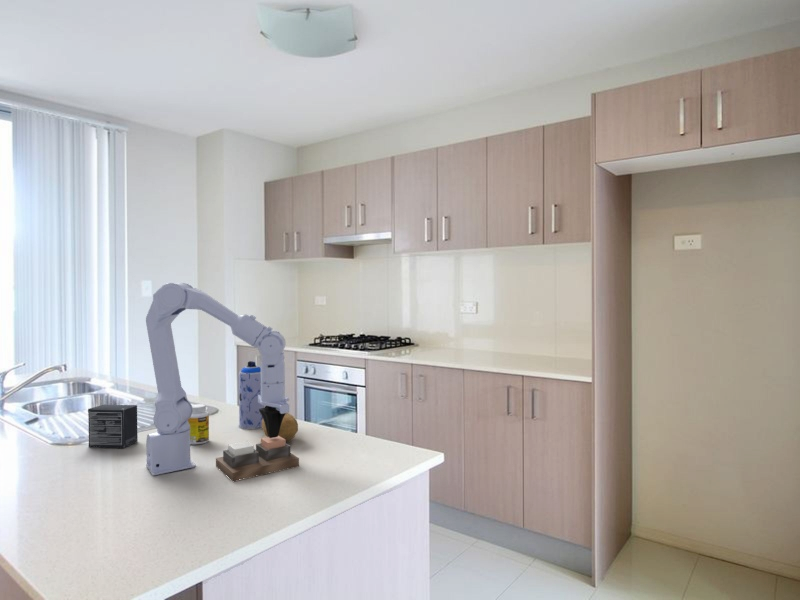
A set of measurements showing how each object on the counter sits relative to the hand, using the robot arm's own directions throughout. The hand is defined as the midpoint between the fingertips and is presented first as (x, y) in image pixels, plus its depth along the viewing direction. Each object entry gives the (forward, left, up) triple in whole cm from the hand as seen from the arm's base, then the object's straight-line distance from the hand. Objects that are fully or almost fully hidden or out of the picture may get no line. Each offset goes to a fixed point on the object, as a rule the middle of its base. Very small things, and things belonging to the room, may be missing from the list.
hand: (273, 436), depth 124 cm
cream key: (-8, 0, -2) cm, 8 cm away
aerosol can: (+8, +35, -7) cm, 37 cm away
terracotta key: (0, 0, -3) cm, 3 cm away
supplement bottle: (-10, +28, -7) cm, 30 cm away
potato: (+9, +16, -7) cm, 20 cm away
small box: (-29, +40, -7) cm, 50 cm away
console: (-4, 0, -6) cm, 8 cm away
